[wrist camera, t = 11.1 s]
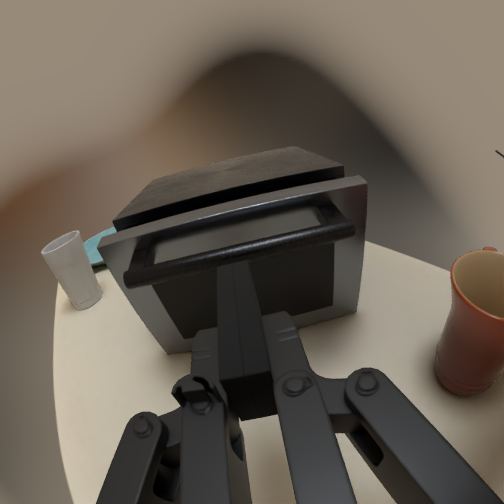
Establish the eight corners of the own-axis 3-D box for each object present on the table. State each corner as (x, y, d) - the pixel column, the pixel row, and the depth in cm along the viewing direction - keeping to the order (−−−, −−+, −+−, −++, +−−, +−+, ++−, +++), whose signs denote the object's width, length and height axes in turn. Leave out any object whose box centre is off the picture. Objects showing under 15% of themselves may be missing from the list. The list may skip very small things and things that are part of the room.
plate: (167, 233, 64) (163, 222, 63) (91, 284, 49) (85, 272, 48) (123, 228, 77) (120, 220, 76) (63, 267, 62) (59, 257, 61)
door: (367, 333, 27) (389, 201, 17) (166, 378, 27) (83, 274, 17) (351, 301, 31) (358, 174, 21) (168, 343, 31) (101, 236, 21)
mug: (496, 414, 13) (554, 329, 8) (414, 398, 18) (446, 309, 13) (500, 322, 20) (527, 240, 16) (437, 310, 26) (452, 227, 21)
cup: (67, 303, 44) (39, 249, 39) (98, 282, 49) (74, 228, 44) (77, 318, 39) (43, 257, 34) (112, 294, 44) (83, 233, 39)
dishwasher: (350, 302, 31) (343, 165, 24) (169, 344, 31) (112, 220, 24) (308, 239, 47) (294, 146, 40) (183, 269, 47) (153, 179, 40)
